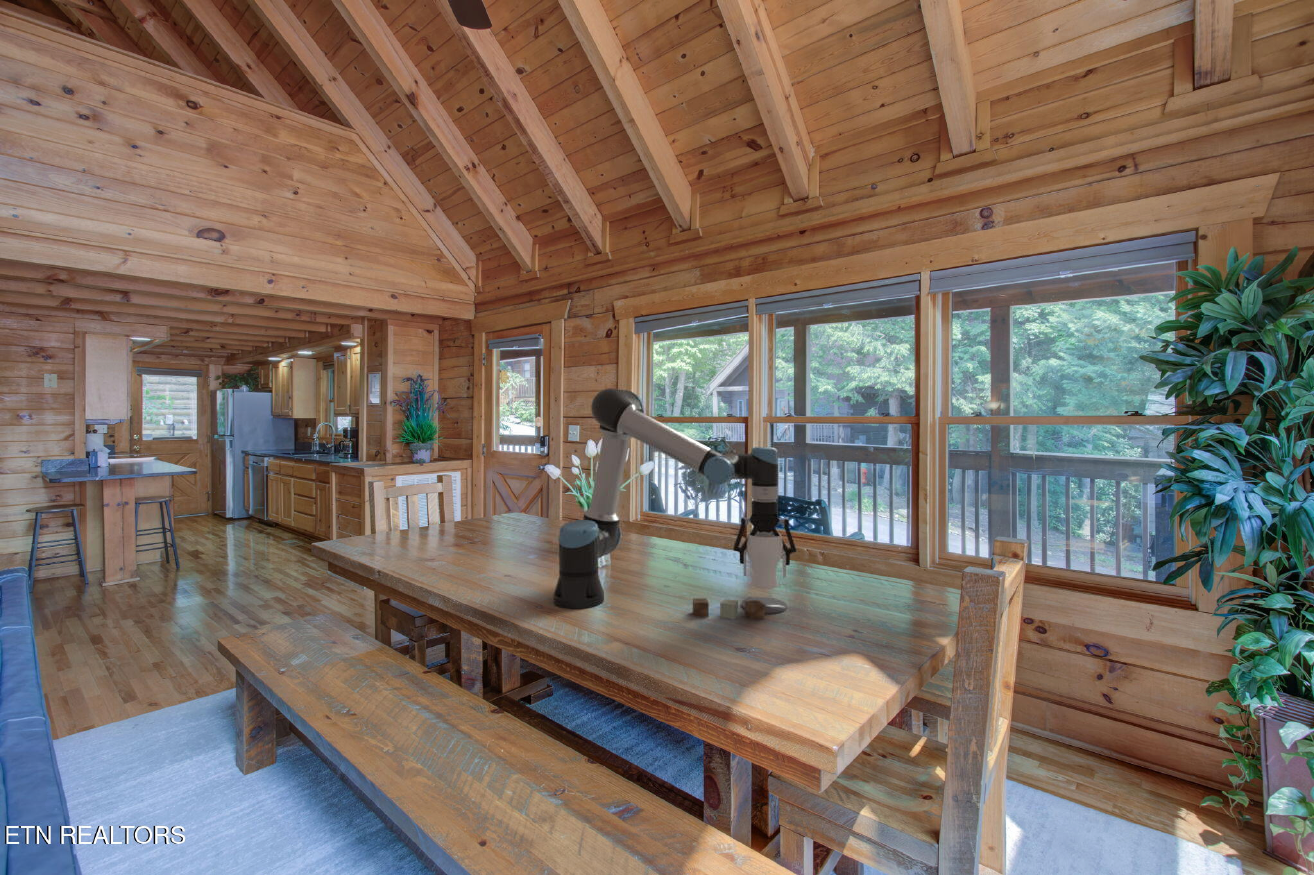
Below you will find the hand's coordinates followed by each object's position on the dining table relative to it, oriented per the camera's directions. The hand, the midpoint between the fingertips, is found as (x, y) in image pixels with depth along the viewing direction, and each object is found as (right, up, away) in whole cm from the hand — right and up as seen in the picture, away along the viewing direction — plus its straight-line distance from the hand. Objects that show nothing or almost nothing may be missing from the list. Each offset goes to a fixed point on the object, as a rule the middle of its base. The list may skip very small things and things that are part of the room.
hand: (764, 575), depth 171 cm
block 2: (-11, -9, -8) cm, 17 cm away
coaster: (0, -9, 0) cm, 9 cm away
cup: (0, -3, 0) cm, 3 cm away
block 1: (-19, -9, -7) cm, 22 cm away
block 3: (-4, -9, -9) cm, 14 cm away
